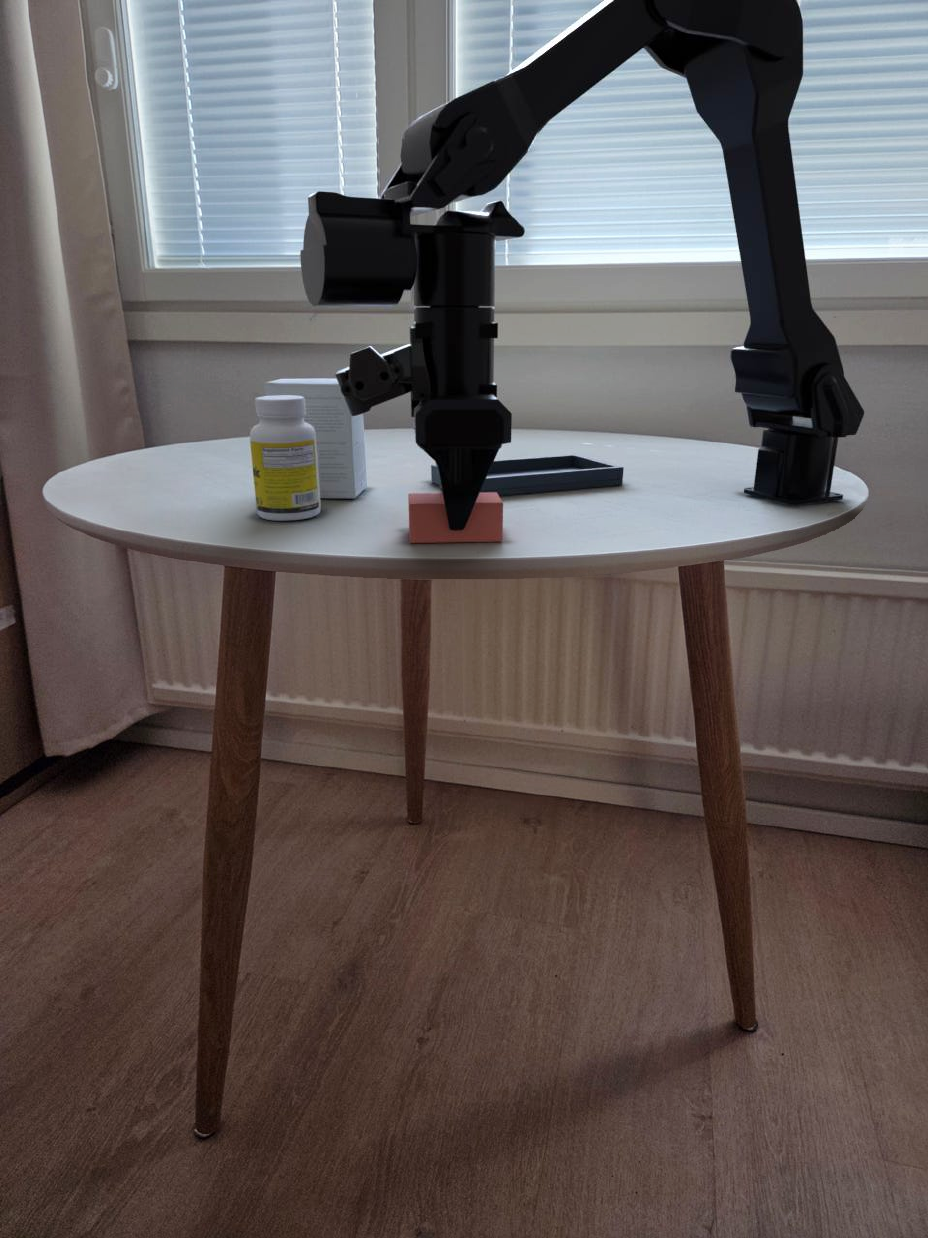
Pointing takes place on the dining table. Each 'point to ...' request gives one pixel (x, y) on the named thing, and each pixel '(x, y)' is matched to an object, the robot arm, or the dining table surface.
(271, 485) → the supplement bottle
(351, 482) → the small box
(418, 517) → the brick
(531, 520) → the dining table surface
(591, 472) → the tray
